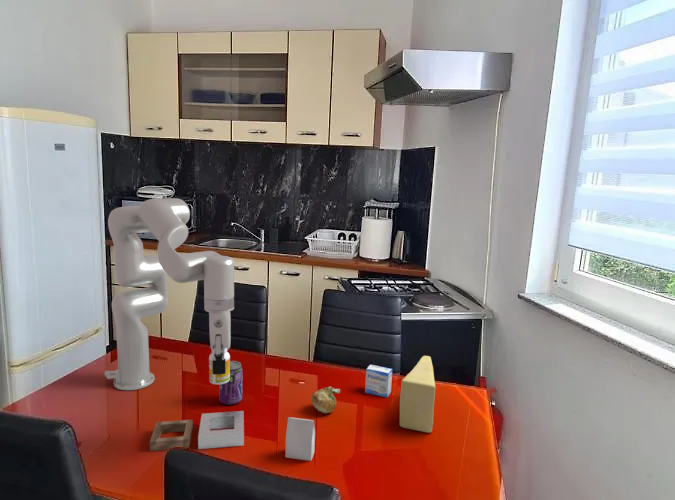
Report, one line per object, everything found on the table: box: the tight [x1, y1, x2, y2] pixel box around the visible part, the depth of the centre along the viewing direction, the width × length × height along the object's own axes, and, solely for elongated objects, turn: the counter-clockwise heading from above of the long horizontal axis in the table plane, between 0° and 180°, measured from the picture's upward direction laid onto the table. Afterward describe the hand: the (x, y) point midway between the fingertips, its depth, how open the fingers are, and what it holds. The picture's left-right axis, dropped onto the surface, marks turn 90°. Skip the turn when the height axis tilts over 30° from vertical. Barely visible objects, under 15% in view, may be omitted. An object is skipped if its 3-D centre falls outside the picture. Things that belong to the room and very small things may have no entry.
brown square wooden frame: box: [149, 419, 194, 452], centre depth 123 cm, size 10×10×2 cm
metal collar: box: [197, 410, 245, 450], centre depth 126 cm, size 12×12×4 cm
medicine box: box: [364, 364, 393, 399], centre depth 153 cm, size 8×4×9 cm, turn 68°
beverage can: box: [218, 360, 244, 406], centre depth 144 cm, size 7×7×12 cm
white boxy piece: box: [284, 416, 316, 462], centre depth 118 cm, size 4×7×10 cm, turn 80°
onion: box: [311, 386, 341, 414], centre depth 141 cm, size 8×8×8 cm
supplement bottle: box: [208, 346, 231, 385], centre depth 123 cm, size 5×5×10 cm
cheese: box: [399, 355, 436, 434], centre depth 141 cm, size 22×10×15 cm, turn 162°
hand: (219, 368), depth 123 cm, fingers closed on supplement bottle, 5 cm apart
